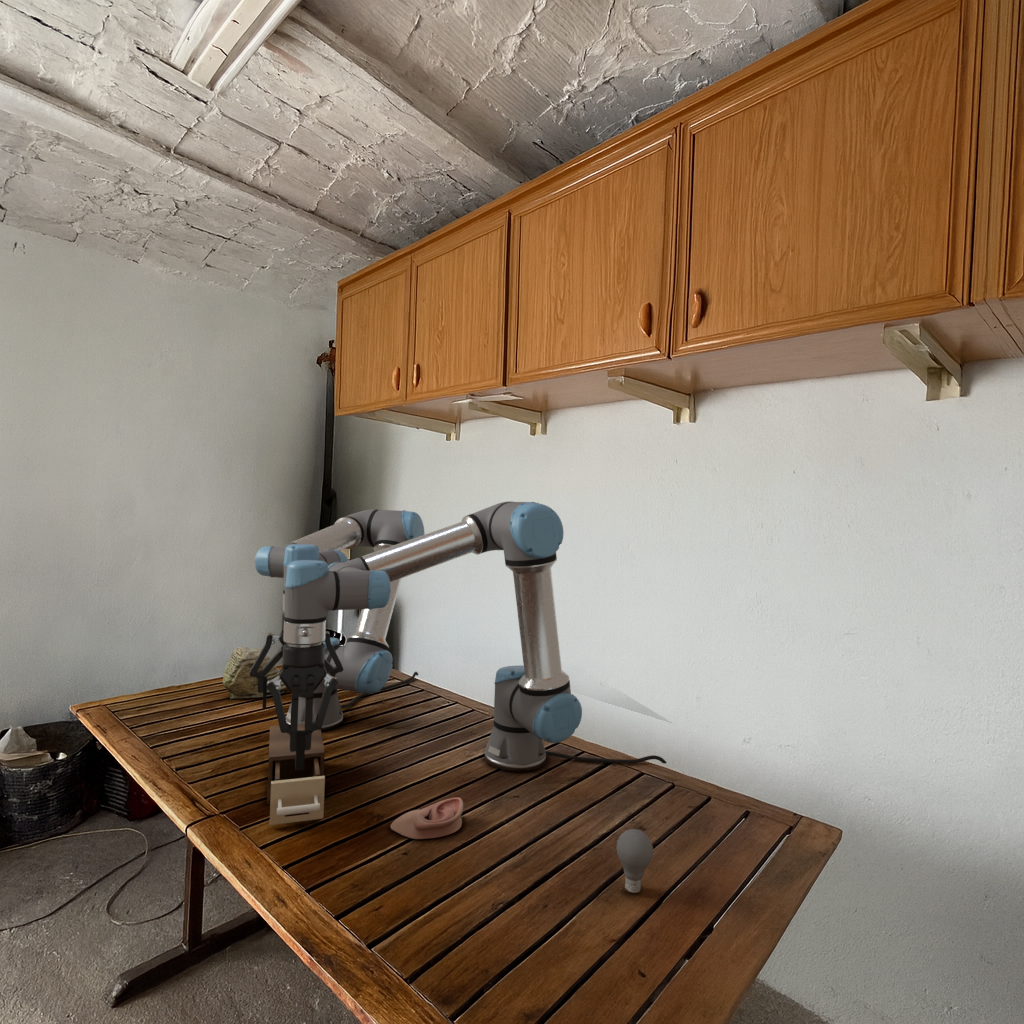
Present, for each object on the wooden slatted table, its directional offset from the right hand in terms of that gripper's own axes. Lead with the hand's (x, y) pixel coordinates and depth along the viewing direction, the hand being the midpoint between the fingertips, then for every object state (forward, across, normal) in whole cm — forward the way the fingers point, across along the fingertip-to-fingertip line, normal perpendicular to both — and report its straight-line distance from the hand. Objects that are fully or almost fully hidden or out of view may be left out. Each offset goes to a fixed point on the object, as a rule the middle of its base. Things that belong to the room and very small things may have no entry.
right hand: (299, 767), depth 119 cm
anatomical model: (+12, +24, -4) cm, 27 cm away
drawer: (+11, 0, +8) cm, 14 cm away
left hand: (-3, 0, +27) cm, 28 cm away
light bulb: (+12, +52, -34) cm, 64 cm away
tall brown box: (+12, 0, +21) cm, 25 cm away
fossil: (+12, -10, +87) cm, 89 cm away
